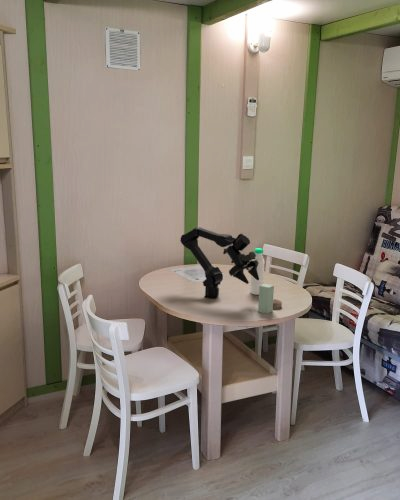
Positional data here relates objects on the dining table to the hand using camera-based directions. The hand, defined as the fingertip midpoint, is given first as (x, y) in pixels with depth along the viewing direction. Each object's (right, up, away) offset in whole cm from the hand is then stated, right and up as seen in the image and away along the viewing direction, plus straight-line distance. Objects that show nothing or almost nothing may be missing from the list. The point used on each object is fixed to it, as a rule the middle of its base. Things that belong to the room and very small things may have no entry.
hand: (253, 281), depth 232 cm
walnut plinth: (+11, -13, +5) cm, 17 cm away
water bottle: (+5, -8, +26) cm, 28 cm away
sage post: (+6, -14, -2) cm, 15 cm away
